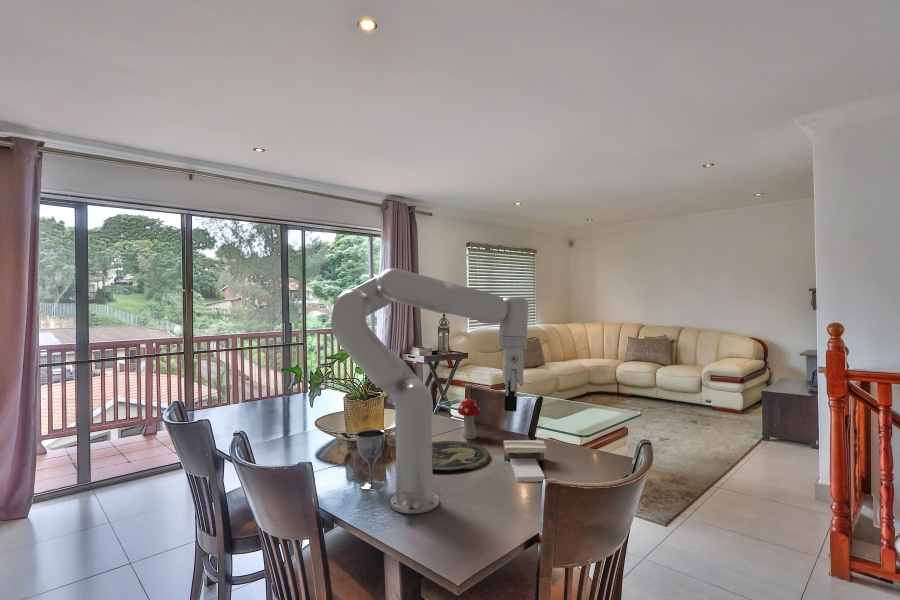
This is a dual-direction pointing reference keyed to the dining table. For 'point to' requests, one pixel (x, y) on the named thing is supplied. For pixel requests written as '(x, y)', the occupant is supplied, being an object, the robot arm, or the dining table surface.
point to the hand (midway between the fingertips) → (510, 410)
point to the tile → (527, 470)
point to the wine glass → (370, 453)
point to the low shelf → (524, 449)
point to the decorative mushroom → (469, 417)
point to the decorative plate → (457, 457)
